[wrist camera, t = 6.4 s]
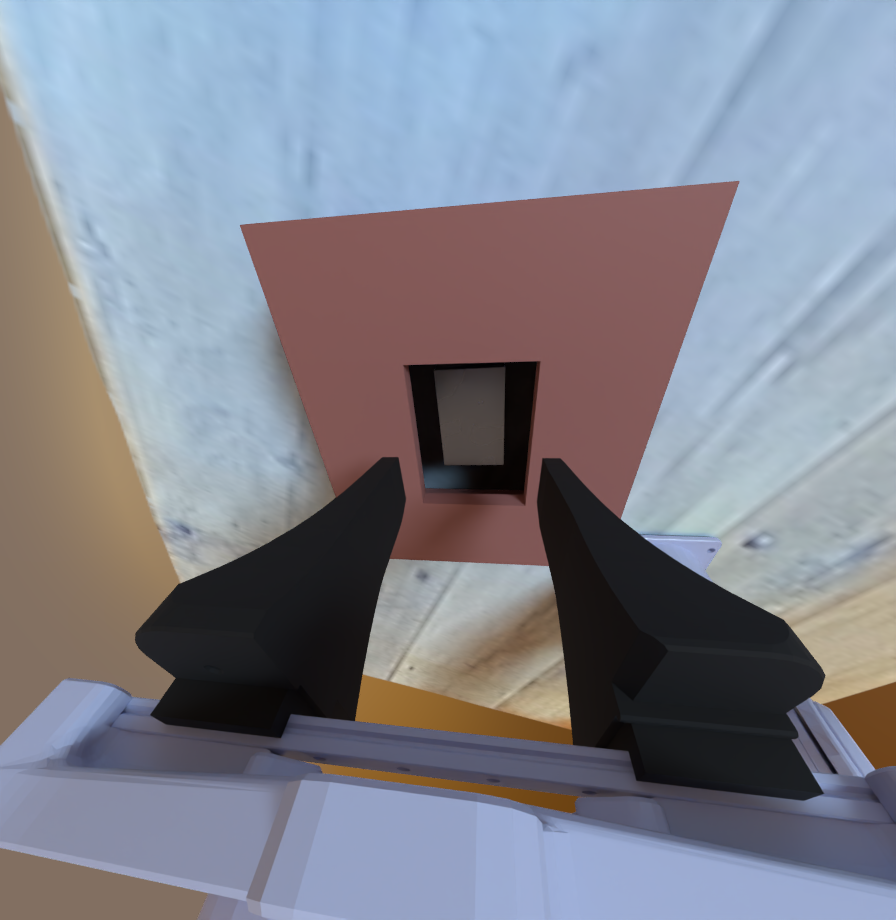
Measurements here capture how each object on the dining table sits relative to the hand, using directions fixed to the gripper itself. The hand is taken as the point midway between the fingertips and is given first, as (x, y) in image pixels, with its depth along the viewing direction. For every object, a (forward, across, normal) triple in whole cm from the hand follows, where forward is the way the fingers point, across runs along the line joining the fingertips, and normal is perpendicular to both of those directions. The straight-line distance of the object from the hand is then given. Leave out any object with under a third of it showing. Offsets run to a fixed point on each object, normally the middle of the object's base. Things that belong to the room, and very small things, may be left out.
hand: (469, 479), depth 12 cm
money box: (+8, 0, 0) cm, 8 cm away
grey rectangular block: (+8, 0, 0) cm, 8 cm away
